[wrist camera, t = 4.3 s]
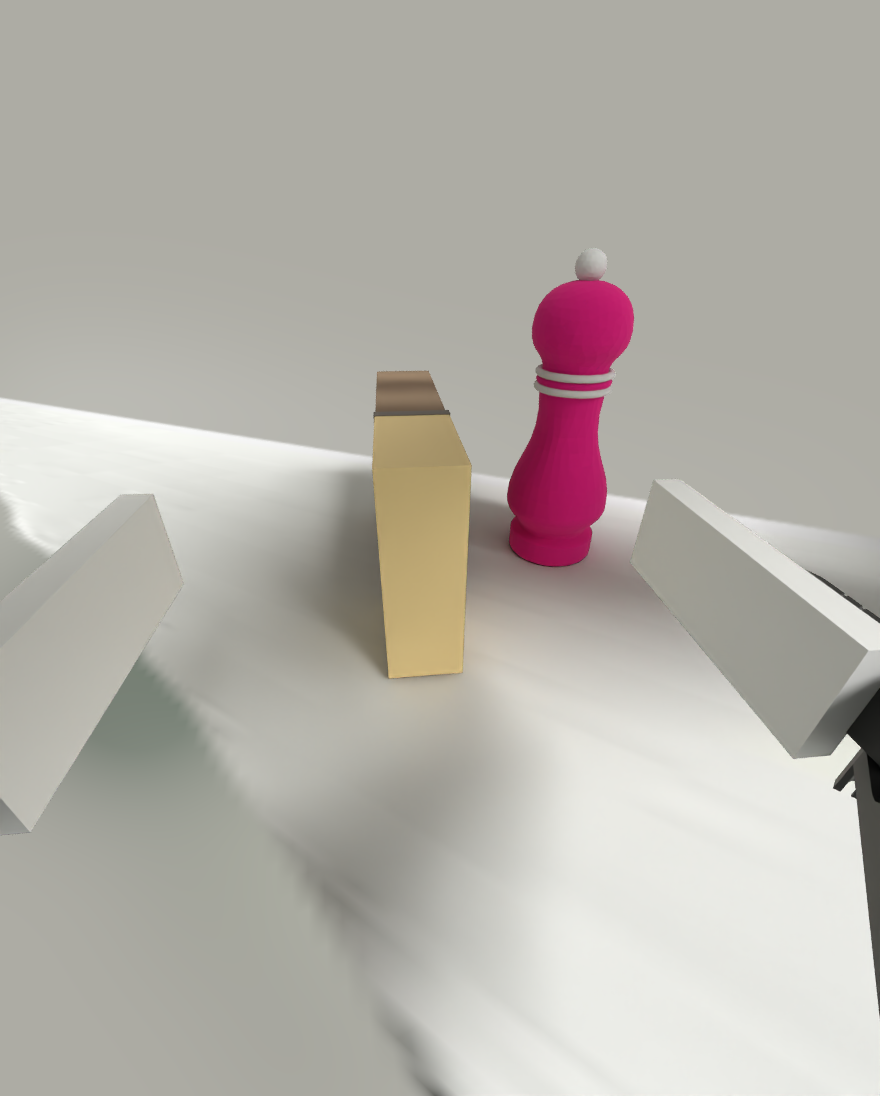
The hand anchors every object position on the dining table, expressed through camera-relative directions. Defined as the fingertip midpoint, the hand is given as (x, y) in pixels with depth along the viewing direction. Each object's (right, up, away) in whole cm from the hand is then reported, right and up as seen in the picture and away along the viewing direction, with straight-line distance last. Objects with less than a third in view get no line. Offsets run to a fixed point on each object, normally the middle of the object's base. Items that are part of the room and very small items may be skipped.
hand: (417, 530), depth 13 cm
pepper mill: (+9, 0, +24) cm, 26 cm away
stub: (-1, -6, +16) cm, 17 cm away
